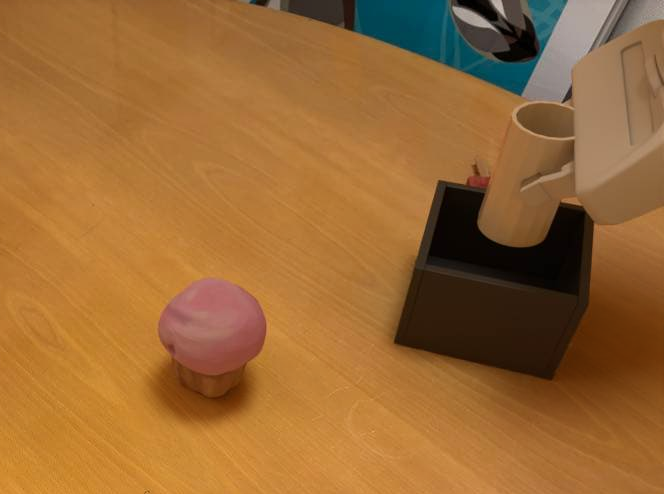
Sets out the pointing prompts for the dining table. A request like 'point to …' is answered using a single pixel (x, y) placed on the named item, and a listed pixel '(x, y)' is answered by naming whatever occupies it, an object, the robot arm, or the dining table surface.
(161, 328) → the cupcake
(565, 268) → the bin
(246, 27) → the dining table surface
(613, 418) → the dining table surface
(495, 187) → the cardboard tube
